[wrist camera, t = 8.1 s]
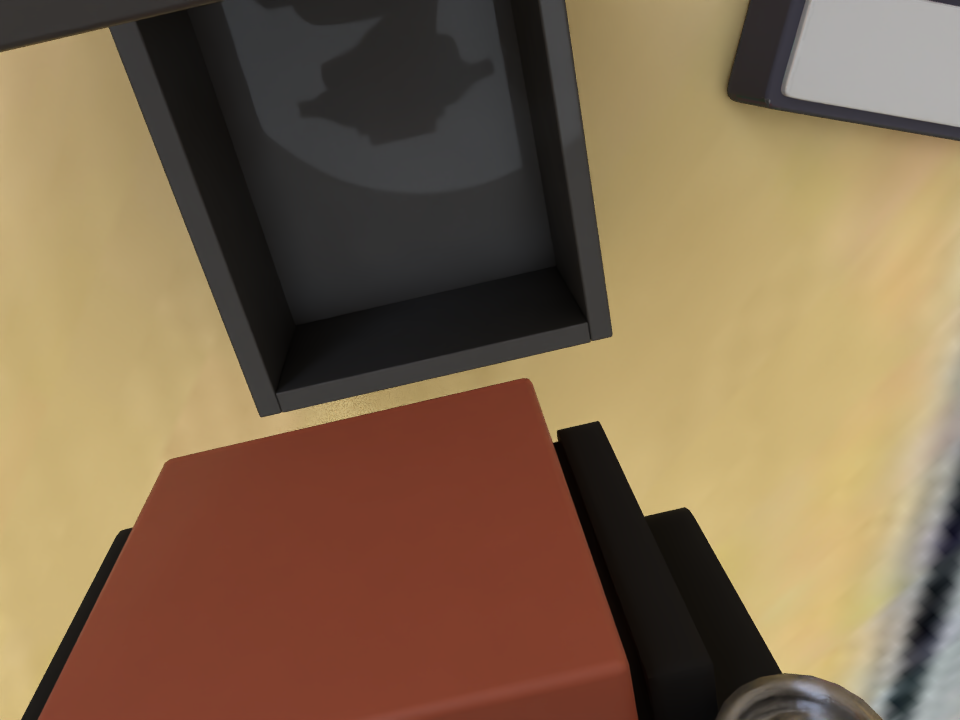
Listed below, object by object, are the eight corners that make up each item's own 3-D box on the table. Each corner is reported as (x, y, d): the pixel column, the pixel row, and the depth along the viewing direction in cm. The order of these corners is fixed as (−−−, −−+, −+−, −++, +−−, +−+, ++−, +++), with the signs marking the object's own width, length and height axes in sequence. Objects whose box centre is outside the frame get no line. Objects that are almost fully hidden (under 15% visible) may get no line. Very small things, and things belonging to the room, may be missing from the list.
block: (163, 457, 9) (-15, 813, 5) (530, 374, 9) (630, 665, 5) (281, 713, 11) (215, 1114, 7) (584, 643, 11) (688, 1008, 7)
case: (573, 272, 33) (613, 337, 27) (285, 338, 33) (259, 418, 27) (504, -156, 26) (537, -198, 20) (140, -72, 26) (63, -88, 20)
